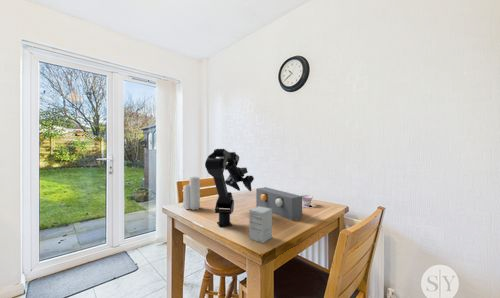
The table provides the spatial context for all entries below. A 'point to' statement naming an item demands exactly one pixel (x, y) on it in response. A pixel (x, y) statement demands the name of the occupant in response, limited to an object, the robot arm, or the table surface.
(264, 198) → the orange button
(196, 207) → the candle
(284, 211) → the console
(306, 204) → the teacup
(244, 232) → the table surface
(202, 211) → the table surface
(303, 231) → the table surface
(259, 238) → the supplement box
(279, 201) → the cream button
